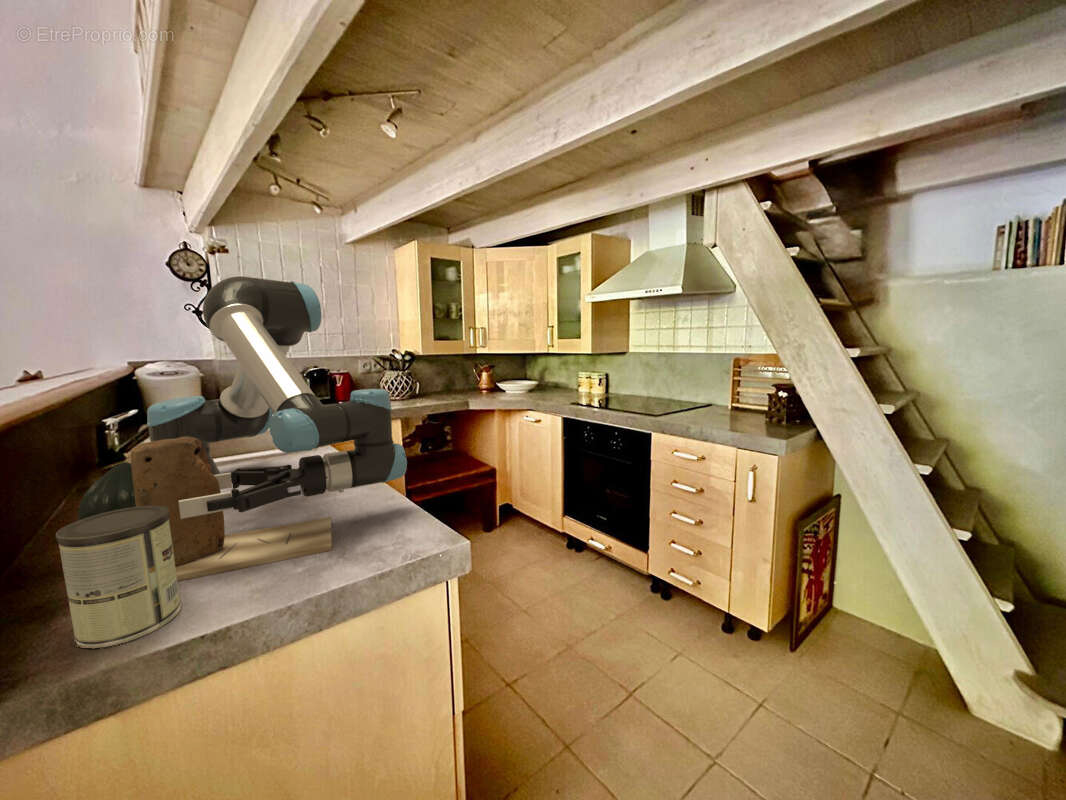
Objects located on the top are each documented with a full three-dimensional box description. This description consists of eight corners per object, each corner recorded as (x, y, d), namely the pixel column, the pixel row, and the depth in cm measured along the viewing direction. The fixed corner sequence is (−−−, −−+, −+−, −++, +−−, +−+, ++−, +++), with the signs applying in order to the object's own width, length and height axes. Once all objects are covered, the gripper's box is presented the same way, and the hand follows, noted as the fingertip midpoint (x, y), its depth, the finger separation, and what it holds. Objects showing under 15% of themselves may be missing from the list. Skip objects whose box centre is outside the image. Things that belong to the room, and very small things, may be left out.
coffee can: (75, 623, 56) (59, 520, 54) (177, 591, 63) (165, 499, 61) (70, 663, 49) (50, 546, 47) (185, 622, 56) (172, 518, 54)
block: (144, 576, 65) (125, 449, 63) (143, 559, 71) (126, 441, 68) (229, 552, 73) (216, 437, 70) (223, 538, 78) (210, 431, 76)
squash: (150, 523, 75) (169, 448, 83) (42, 538, 71) (73, 458, 79) (189, 547, 86) (202, 479, 94) (97, 561, 82) (119, 489, 90)
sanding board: (156, 552, 76) (155, 546, 75) (330, 521, 88) (330, 516, 87) (122, 592, 63) (122, 585, 63) (331, 550, 75) (331, 544, 75)
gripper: (339, 511, 73) (179, 546, 61) (315, 477, 93) (191, 498, 81) (335, 468, 72) (172, 496, 60) (312, 443, 92) (186, 460, 80)
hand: (183, 497), depth 70 cm, fingers open, 13 cm apart
